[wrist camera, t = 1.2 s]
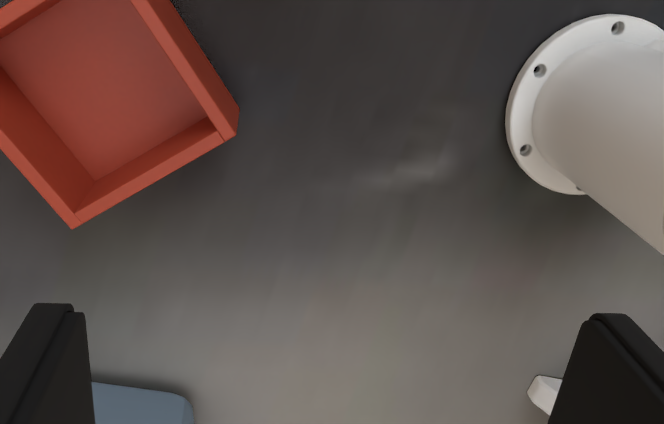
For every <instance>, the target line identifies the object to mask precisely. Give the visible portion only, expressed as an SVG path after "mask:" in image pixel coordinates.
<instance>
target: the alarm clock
mask: <svg viewBox="0 0 664 424" xmlns="http://www.w3.org/2000/svg"><path fill="white" fill-rule="evenodd" d="M91 383H92V394H93V404H94V414H95V424H195V423H194V417H193V407H192V405H191V404H190V403H189V402H188V401H187V400H186V399H185V398H184V397H183V396H180V395H178V394H175V393H172V392H165V391H157V390H150V389H143V388H135V387H128V386H121V385H113V384H106V383H99V382H91Z"/></svg>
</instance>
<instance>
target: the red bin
mask: <svg viewBox="0 0 664 424" xmlns="http://www.w3.org/2000/svg"><path fill="white" fill-rule="evenodd" d="M239 111H240V108H239V107H238V105H237V104H236V102H235V101H234V99H233V98H232V96H231V94H230V93H229V91H228V90H227V88H226V87H225V85H224V84H223V82H222V80H221V79H220V77H219V76H218V74H217V73H216V71H215V70H214V68H213V66H212V65H211V63H210V62H209V60H208V59H207V57H206V56H205V54H204V52H203V51H202V49H201V48H200V46H199V45H198V43H197V42H196V40H195V38H194V37H193V35H192V34H191V32H190V31H189V29H188V28H187V26H186V25H185V23H184V21H183V20H182V18H181V17H180V15H179V14H178V12H177V11H176V9H175V7H174V6H173V4H172V3H171V1H170V0H13V1H11V2H10V3H8V4H7V5H5V6H4V7H2V8H0V149H1V150H2V151H3V152H4V153H5V155H6V156H7V157H8V158H9V159H10V160H11V161H12V162H13V164H14V165H15V166H16V167H17V168H18V169H19V170H20V172H21V173H22V174H23V175H24V176H25V177H26V178H27V179H28V181H29V182H30V183H31V184H32V185H33V186H34V187H35V189H36V190H37V191H38V192H39V193H40V194H41V195H42V196H43V198H44V199H45V200H46V201H47V202H48V203H49V204H50V206H51V207H52V208H53V209H54V210H55V211H56V212H57V213H58V215H59V216H60V217H61V218H62V219H63V220H64V221H65V223H66V224H67V225H68V226H69V227H70V228H71V229H74V228H76V227H78V226H79V225H81V224H82V223H85V222H86V221H88V220H90V219H92V218H93V217H95V216H97V215H99V214H100V213H102V212H104V211H105V210H107V209H109V208H111V207H112V206H114V205H116V204H118V203H119V202H121V201H123V200H125V199H126V198H128V197H130V196H132V195H133V194H135V193H137V192H139V191H140V190H142V189H144V188H146V187H147V186H149V185H151V184H153V183H154V182H156V181H158V180H160V179H161V178H163V177H165V176H167V175H168V174H170V173H172V172H174V171H175V170H177V169H179V168H181V167H182V166H184V165H186V164H187V163H189V162H191V161H193V160H194V159H196V158H198V157H200V156H201V155H203V154H205V153H207V152H208V151H210V150H212V149H214V148H215V147H217V146H219V145H221V144H222V143H224V142H225V141H227V140H229V139H231V138H232V137H234V136H236V132H237V125H238V117H239Z"/></svg>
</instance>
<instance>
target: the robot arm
mask: <svg viewBox="0 0 664 424" xmlns="http://www.w3.org/2000/svg"><path fill="white" fill-rule="evenodd" d="M613 24H614V26H613ZM612 26H613V29H611V28H612ZM536 66H537V70H536V71H535V72H534V69H535V67H536ZM505 129H506V137H507V142H508V145H509V148H510V150H511V153H512V156H513V157H514V159H515V160H516V162H517V163H518V165H519V166H520V168H521V169H522V170H523V171H524V172H525V173H526V174H527V175H528V176H529V177H531V178H532V179H533V180H535V181H536V182H537V183H538V184H540V185H541V186H544V187H546V188H548V189H550V190H552V191H556V192H560V193H565V194H573V195H584V194H587V195H589V196H590V197H591V198H592V199H594V200H595V201H596V202H597V203H599V204H600V205H601V206H602V207H604V208H605V209H606V210H607V211H609V212H610V213H611V214H612V215H614V216H615V217H616V218H617V219H619V220H620V221H621V222H622V223H624V224H625V225H626V226H627V227H629V228H630V229H631V230H632V231H634V232H635V233H636V234H637V235H639V236H640V237H641V238H642V239H644V240H645V241H646V242H647V243H649V244H650V245H651V246H652V247H654V248H655V249H656V250H657V251H659V252H660V253H661V254H662V255H664V31H663V30H662V29H660V28H659V27H658V26H656V25H655V24H652V23H650V22H648V21H646V20H643V19H641V18H637V17H633V16H628V15H619V14H604V15H597V16H591V17H588V18H585V19H582V20H579V21H576V22H573V23H572V24H570V25H568V26H566V27H564V28H563V29H561V30H559V31H557V32H556V33H555V34H553V35H552V36H551V37H550V38H548V39H547V40H546V41H544V42H543V43H542V44H541V45H540V46H539V47H538V48H537V49H536V50H535V52H534V53H533V54H532V55H531V56H530V57H529V58H528V60H527V61H526V63H525V64H524V66H523V67H522V69H521V70H520V72H519V73H518V75H517V77H516V80H515V82H514V84H513V86H512V89H511V91H510V95H509V99H508V103H507V107H506V116H505ZM523 145H524V147H523V148H522V149H521V147H522V146H523ZM0 424H95V414H94V404H93V394H92V383H91V373H90V363H89V352H88V342H87V331H86V321H85V315H84V313H82V312H74V308H73V306H72V305H71V304H58V303H36V304H34V305H33V307H32V308H31V310H30V311H29V313H28V315H27V316H26V318H25V319H24V321H23V323H22V324H21V326H20V328H19V329H18V331H17V333H16V334H15V336H14V338H13V339H12V341H11V343H10V344H9V346H8V347H7V349H6V351H5V352H4V354H3V356H2V357H1V359H0ZM548 424H664V352H663V351H662V350H661V349H660V348H659V347H658V346H657V345H656V344H655V343H654V342H653V341H652V340H651V339H650V338H649V337H648V336H647V335H646V334H645V333H644V332H643V330H642V329H641V328H640V327H639V326H638V325H637V324H636V323H635V322H634V321H633V320H632V319H631V318H630V317H628V316H627V315H625V314H615V313H596V314H593V315H592V316H591V317H590V318H589V320H587V321H585V322H584V323H582V325H581V328H580V330H579V333H578V336H577V339H576V342H575V345H574V348H573V351H572V354H571V357H570V359H569V362H568V365H567V368H566V371H565V374H564V377H563V380H562V383H561V386H560V389H559V391H558V394H557V397H556V400H555V403H554V406H553V409H552V412H551V415H550V418H549V420H548Z"/></svg>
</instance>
